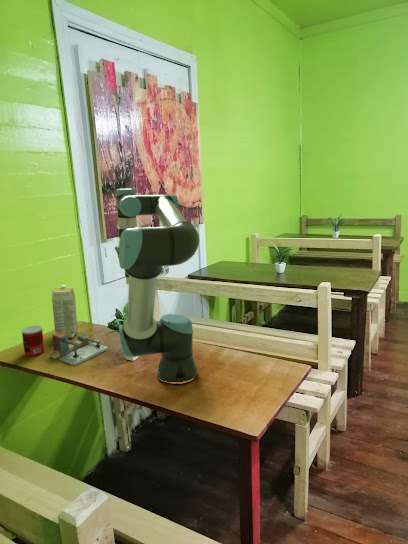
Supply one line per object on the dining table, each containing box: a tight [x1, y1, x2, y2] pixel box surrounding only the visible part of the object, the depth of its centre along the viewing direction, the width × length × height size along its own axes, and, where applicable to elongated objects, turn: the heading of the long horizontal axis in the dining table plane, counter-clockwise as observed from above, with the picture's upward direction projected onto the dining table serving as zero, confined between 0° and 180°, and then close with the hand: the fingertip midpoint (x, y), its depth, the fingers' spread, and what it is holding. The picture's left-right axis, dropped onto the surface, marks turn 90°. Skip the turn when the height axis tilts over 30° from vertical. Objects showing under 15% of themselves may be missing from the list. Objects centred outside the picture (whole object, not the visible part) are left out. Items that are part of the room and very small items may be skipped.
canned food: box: [21, 325, 45, 358], centre depth 169 cm, size 8×8×11 cm
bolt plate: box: [59, 342, 109, 367], centre depth 169 cm, size 9×18×1 cm, turn 147°
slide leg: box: [52, 332, 79, 357], centre depth 167 cm, size 13×4×8 cm, turn 57°
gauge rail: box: [49, 333, 102, 359], centre depth 171 cm, size 13×18×4 cm
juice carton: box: [51, 284, 78, 339], centre depth 186 cm, size 9×8×24 cm
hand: (129, 283), depth 168 cm, fingers closed
